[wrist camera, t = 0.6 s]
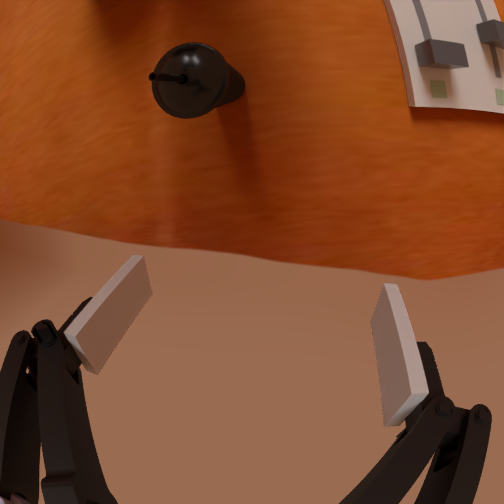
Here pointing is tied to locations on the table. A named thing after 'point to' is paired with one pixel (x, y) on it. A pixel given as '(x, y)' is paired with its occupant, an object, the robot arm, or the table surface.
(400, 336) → the robot arm
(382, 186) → the table surface
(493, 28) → the lever
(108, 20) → the table surface
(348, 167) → the table surface
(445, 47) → the on lever
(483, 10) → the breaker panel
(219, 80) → the drinking cup
